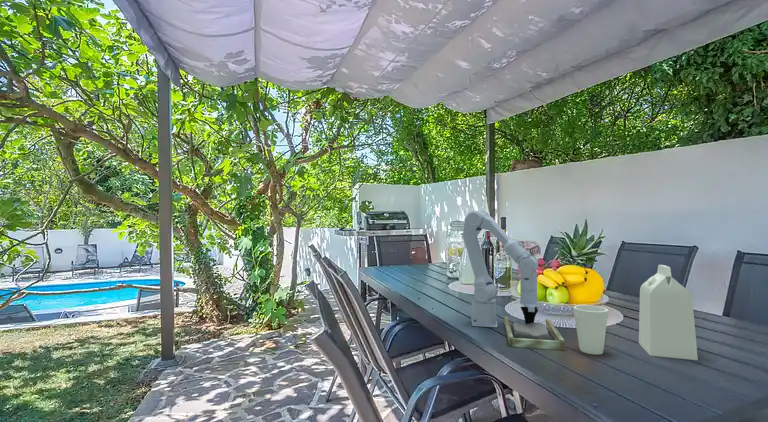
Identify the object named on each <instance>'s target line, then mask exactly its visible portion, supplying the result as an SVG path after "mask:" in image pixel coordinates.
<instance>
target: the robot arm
mask: <svg viewBox="0 0 768 422" xmlns="http://www.w3.org/2000/svg"><path fill="white" fill-rule="evenodd" d="M482 230H485V231H489V232H490V233H491V234H492V235H493V236H494V237H495V238H496V240H498V241H499V242H500V243H501V244H502V245H503V247H504V252H505V253H506V254H507V255H508V256H509V257H510V258H511V260H513V261H514V262H515V264H517V269H518V271H520V273H519V274H520V276H519V277H520V278H519V280H520V281H519V282H520V283H519V284H520V287H519V288H520V301H519V304H520V305H522V306H520V310H521V312H522V314H523V317H524V324H529V323H535V320H536V317H537V316H536V315H537V314H538V311H539V309H538V307H537V306H538V305H539V306H540V305H542V302H541V301H538V277H537V276H538V275H537V274H538V273H537V269H538V268H539V261H538V260H537V258H536V257H535V256H533V255H532V254H531V252H528V250H526V249H525V248H524V247H523V243H522V242H521V241H517V240H516V239H511V238H510V237H509V236H508V234H507V233H506V232H505V231H504V229H502V227H501V226H500V225H499V224H498V223H497V222H496V220H495V219H494V218H493V217H492V216H491V215H489V213H488V212H487V211H483V210H482V211H479V210H478V211H477V210H471V211H469V212H468V214H467V215H466V216H465V217H464V226H463V230H462V237H463V241H464V244H465V247H466V251H467V254H468V258H469V261H470V264H471V265H470V266H471V268H472V272H473V277H474V282H473V286H474V289H473V290H474V291H473V295H474V298H475V300H471V310H470V311H471V315H470V321H471V326H472V327H481V328H482V327H484V328H499V327H498V321H497V300H496V297H497V296H498V291H499V290H498V287H497V285H496V284H495V283H494V281H493V278H492V277H491V276H490V275H489V272H488V269H487V266H486V261H485V259H484V256H483V252H482V248H481V245H480V242H479V238H478V236H479V234H480V233H481V232H482Z"/></svg>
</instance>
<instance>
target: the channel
mask: <svg viewBox="0 0 768 422" xmlns="http://www.w3.org/2000/svg"><path fill="white" fill-rule="evenodd" d="M503 321H504V323H503V324H504V328H505V332H506V333H505V334H506V339H507V342H508V346H509V347H510V348H523V349H525V348H526V349H527V348H528V349H537V350H538V349H540V350H551V351H552V350H554V351H566V345H565V344H566V343H565V339H564V338H563V337H562V335H561V333H560V331H559V330H558V329H557V328H556V327H555V325H554V323H553V322H552V321H551V319H550V318H545V325H546V326H547V330H548V332H549V334H551V336H552V338H553V339H552V340H551V339H549V340H539V339H524V338H516V337H514V334H513V332H512V326H511V325H510V322H509V318H508V316H504V318H503Z"/></svg>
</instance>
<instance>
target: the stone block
mask: <svg viewBox="0 0 768 422" xmlns="http://www.w3.org/2000/svg"><path fill="white" fill-rule="evenodd" d="M511 331H512V335H513V338H524V339H539V340H550V335H549V334H550V333H549V330H548V328H547V326H546V323H544V322H534V323H529V324H525V323H520V322H517V321H516V322H514V323H513V324H511Z"/></svg>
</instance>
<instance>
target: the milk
mask: <svg viewBox="0 0 768 422" xmlns="http://www.w3.org/2000/svg"><path fill="white" fill-rule="evenodd" d="M671 271H672V269H671V267H670V266H668V265H664V264H658V266H657V271H656V273H655V274H653V275H652V276H650V277H649V278H648V279H647V280H646V281H644V282H643V283H642V284H641V285H640V289H639V314H638V317H639V319H638V322H639V323H638V344H639V345H640V346H641V347H642V348H643V350H644V351H646V353H647V354H648V355H649V356H651V357H652V356H653V357H663V358H670V359H671V358H673V359H680V360H681V359H683V360H692V361H698V346H697V337H696V336H697V335H696V327H695V326H696V324H695V314H694V313H695V312H694V302H693V296H692V293H691V292H690V291H689V290H688V289H687V288H685V287H684V286H683V285H682V284H681V283H680V282H679V281H677V280H676V279H675V278H674V277H673V276H672V272H671Z"/></svg>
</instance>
